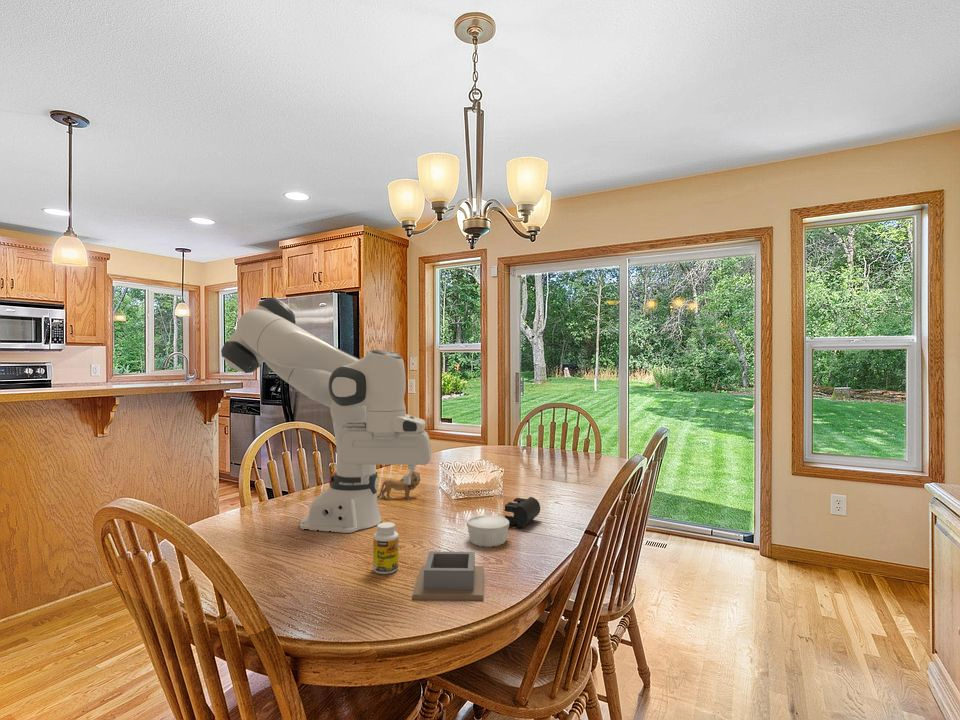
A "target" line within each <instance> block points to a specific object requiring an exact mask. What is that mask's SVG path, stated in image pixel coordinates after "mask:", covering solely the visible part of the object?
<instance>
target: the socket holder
mask: <svg viewBox="0 0 960 720" xmlns="http://www.w3.org/2000/svg"><path fill="white" fill-rule="evenodd" d="M475 556H476V555H475V551H429V552H428V555H427V558H426V561H425V564H424V565H421V566H420V569H419V573H418V575H417V579H416V581H415V585H414V587H413V588H414V589H413V591H412V595H411V596H412V600H414V601H417V600H418V601H423V600H424V601H425V600H427V601H429V600H431V601H484V584H485V583H484V580H485V579H484V577H485V576H484V575H485V573H484V572H485V571H484V570H485V567H484V566H483V565H482V566H480V565H479V566H478V565H477V566H476V565H475V561H476V560H475V558H476V557H475Z"/></svg>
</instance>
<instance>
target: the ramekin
mask: <svg viewBox="0 0 960 720" xmlns="http://www.w3.org/2000/svg"><path fill="white" fill-rule="evenodd" d="M466 526H467V530H468V538H469V541H470V542H471V543H472V544H473V545H475V544H476V545H475V546H477V545H479V546H478V547H482V546H484V548H491V547H492V546H495V547H498V545H499V546H501V544H502V545H503V544H505V542H506V541H507V538H508V531H509V528H510V527H509V520H508V519H506V518H505V516H504V517H503V516H500V515H492V514H491V515H489V514H485V515H477V516H472V517H470V518H468V519H467V520H466Z"/></svg>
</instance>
